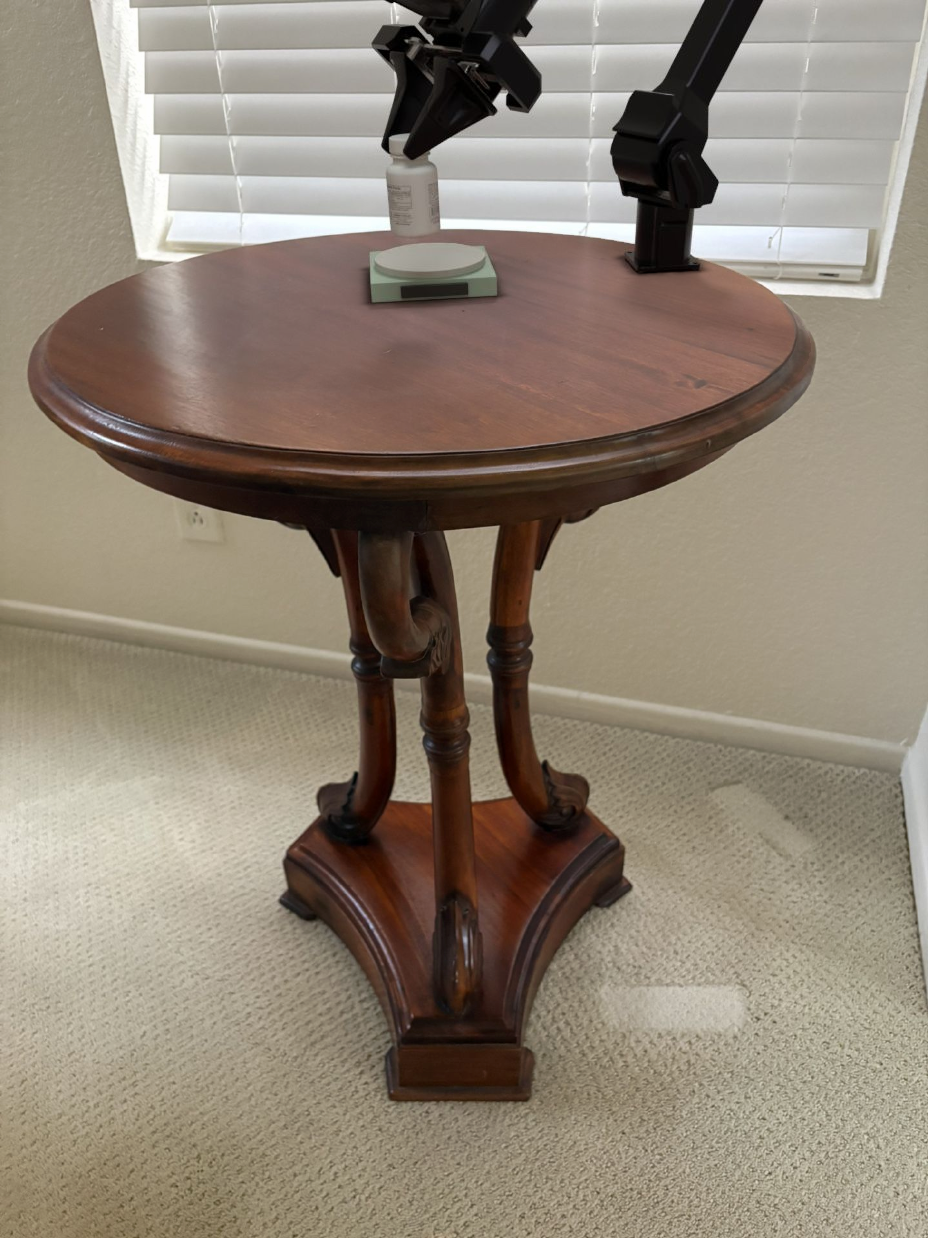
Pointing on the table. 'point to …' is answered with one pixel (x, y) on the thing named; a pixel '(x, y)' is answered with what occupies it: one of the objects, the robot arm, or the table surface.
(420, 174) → the pill bottle
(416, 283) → the scale
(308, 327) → the table surface
